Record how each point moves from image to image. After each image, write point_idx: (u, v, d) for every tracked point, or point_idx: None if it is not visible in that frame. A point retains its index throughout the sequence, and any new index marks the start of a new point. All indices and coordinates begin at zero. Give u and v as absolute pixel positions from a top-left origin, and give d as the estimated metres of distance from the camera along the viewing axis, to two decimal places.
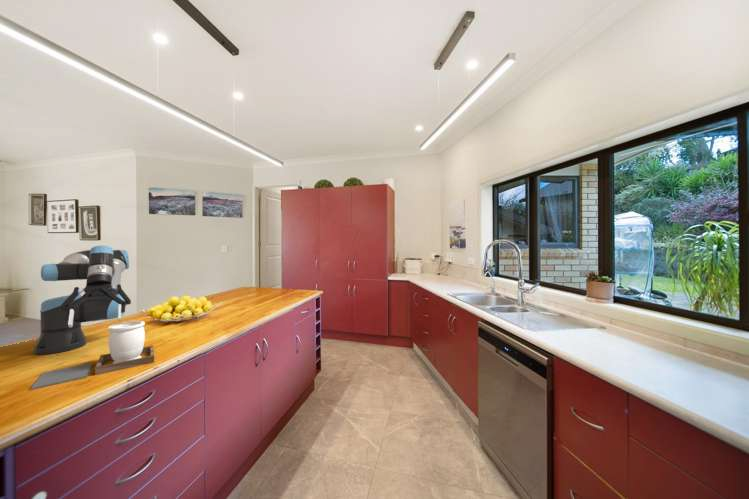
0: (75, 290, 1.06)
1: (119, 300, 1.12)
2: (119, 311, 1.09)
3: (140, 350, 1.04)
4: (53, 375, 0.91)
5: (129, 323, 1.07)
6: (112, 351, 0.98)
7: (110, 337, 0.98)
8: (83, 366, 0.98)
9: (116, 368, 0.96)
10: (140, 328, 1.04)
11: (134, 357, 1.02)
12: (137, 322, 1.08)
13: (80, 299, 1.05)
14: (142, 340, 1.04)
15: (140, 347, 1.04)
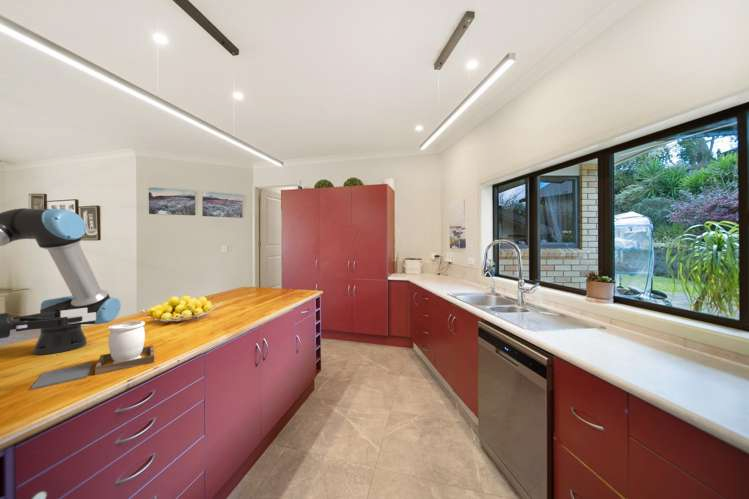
0: None
1: None
2: (82, 322, 0.88)
3: (140, 350, 1.04)
4: (53, 375, 0.91)
5: (129, 323, 1.07)
6: (112, 351, 0.98)
7: (110, 337, 0.98)
8: (83, 366, 0.98)
9: (116, 368, 0.96)
10: (140, 328, 1.04)
11: (134, 357, 1.02)
12: (137, 322, 1.08)
13: None
14: (142, 340, 1.04)
15: (140, 347, 1.04)
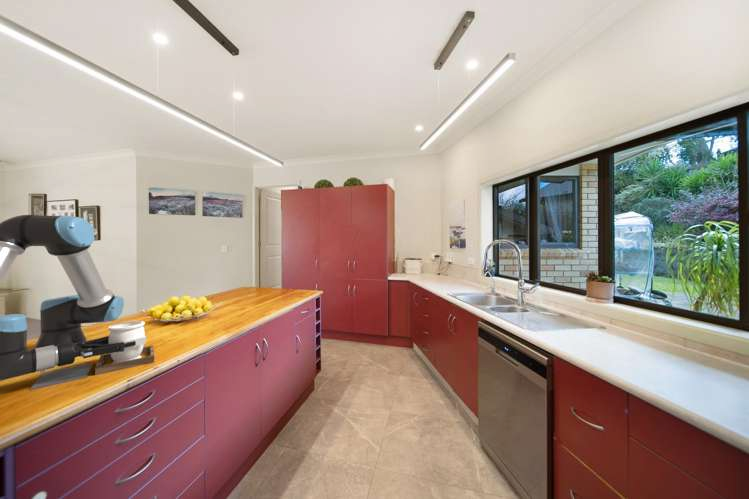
0: None
1: None
2: (135, 345, 1.01)
3: (139, 350, 1.04)
4: (53, 375, 0.91)
5: (129, 323, 1.07)
6: None
7: (110, 337, 0.98)
8: (83, 366, 0.98)
9: (116, 368, 0.96)
10: (140, 328, 1.04)
11: (134, 357, 1.02)
12: (137, 322, 1.08)
13: None
14: None
15: (140, 347, 1.04)
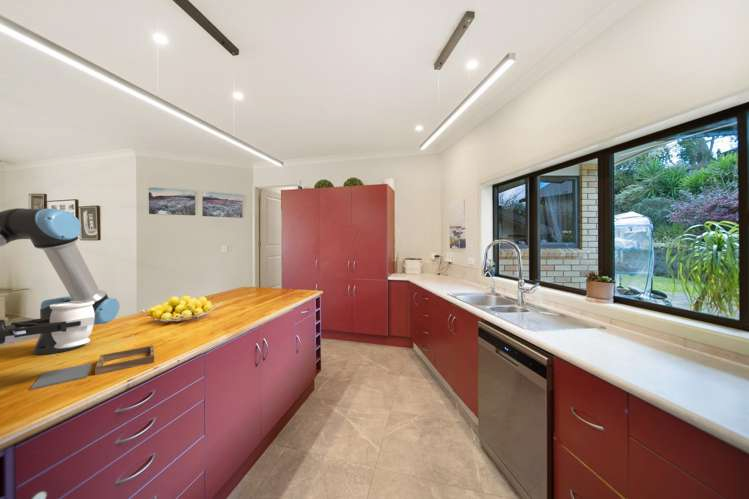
0: None
1: None
2: None
3: (87, 332, 0.94)
4: (53, 375, 0.91)
5: (77, 302, 0.97)
6: (53, 332, 0.88)
7: (51, 316, 0.88)
8: (83, 366, 0.98)
9: (116, 368, 0.96)
10: (88, 307, 0.94)
11: (80, 339, 0.92)
12: (86, 302, 0.98)
13: None
14: None
15: (88, 328, 0.94)
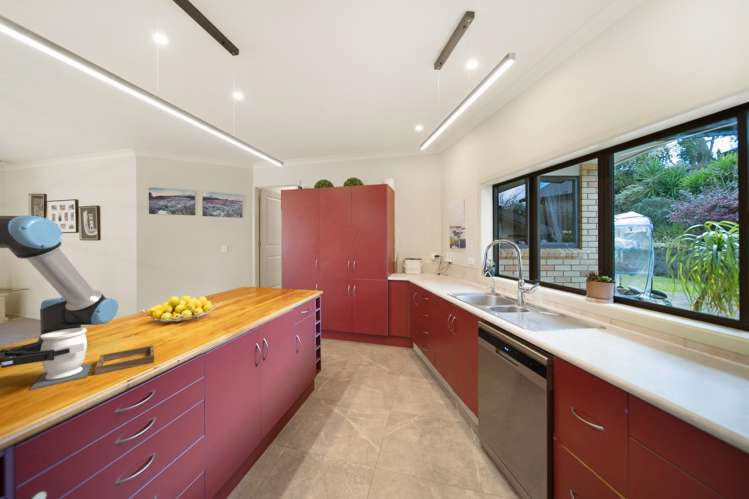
0: None
1: None
2: (70, 353, 0.88)
3: (79, 361, 0.92)
4: None
5: (69, 330, 0.95)
6: (44, 363, 0.87)
7: (42, 347, 0.87)
8: (83, 366, 0.98)
9: (116, 368, 0.96)
10: (80, 336, 0.92)
11: (72, 369, 0.91)
12: (79, 329, 0.96)
13: None
14: None
15: (79, 358, 0.92)
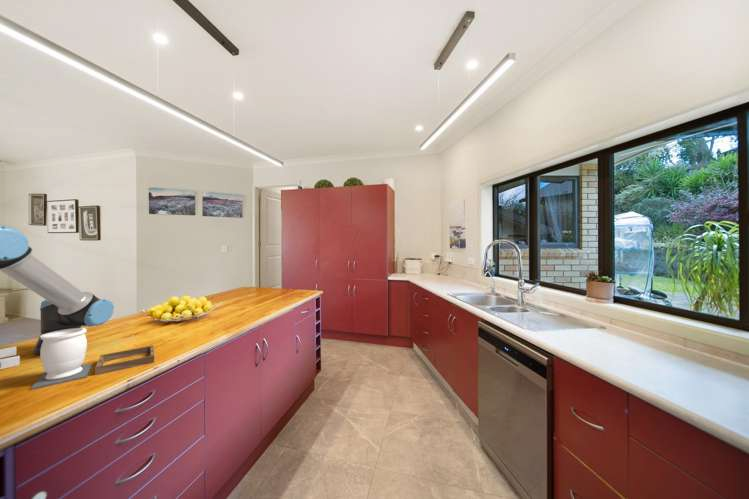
0: None
1: None
2: None
3: (79, 361, 0.92)
4: None
5: (69, 330, 0.95)
6: (44, 363, 0.87)
7: (42, 347, 0.87)
8: (83, 366, 0.98)
9: (116, 368, 0.96)
10: (79, 336, 0.92)
11: (72, 369, 0.91)
12: (79, 329, 0.96)
13: None
14: (82, 350, 0.93)
15: (79, 358, 0.92)
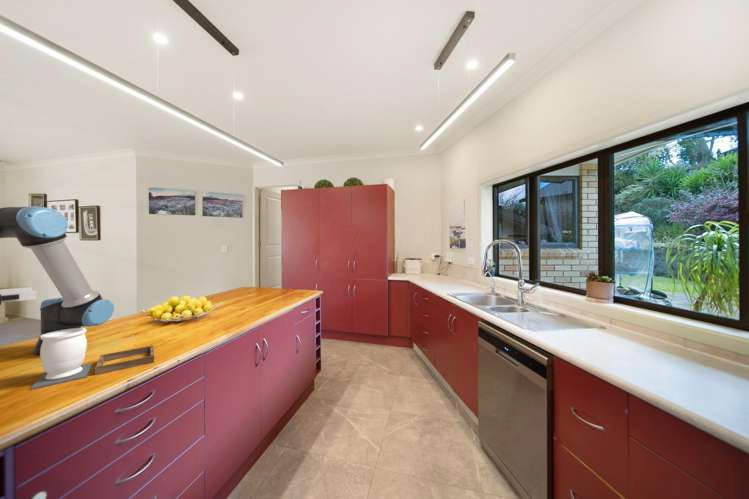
0: None
1: None
2: (20, 300, 0.81)
3: (79, 361, 0.92)
4: None
5: (69, 330, 0.95)
6: (44, 363, 0.87)
7: (42, 347, 0.87)
8: (83, 366, 0.98)
9: (116, 368, 0.96)
10: (79, 336, 0.92)
11: (72, 369, 0.91)
12: (79, 329, 0.96)
13: None
14: (82, 350, 0.93)
15: (79, 358, 0.92)
